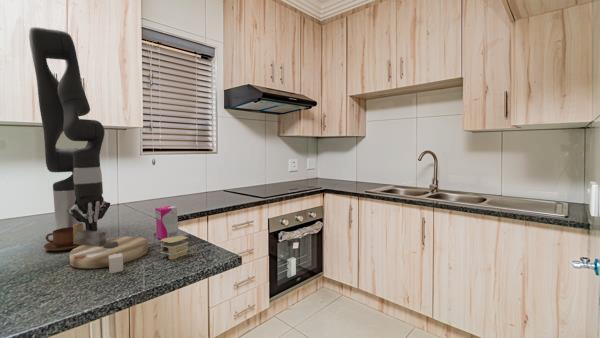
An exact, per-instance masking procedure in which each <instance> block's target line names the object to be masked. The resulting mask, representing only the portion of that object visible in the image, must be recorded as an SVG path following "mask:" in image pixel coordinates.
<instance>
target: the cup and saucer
mask: <svg viewBox="0 0 600 338" xmlns="http://www.w3.org/2000/svg"><path fill="white" fill-rule="evenodd" d="M50 236H52V238H53V239H51V240H50V239H49V237H50ZM45 240H46V242H48V243H46V244H45V245H44V246H43V248H44V249H46V251H51V252H61V251H63V252H64V251H68V250H73V249H75V248H77V247H79V246H81V245H80V244H74V242H73V227H67V228H61V229H57V230H56V229H54V230H53V231H52V232H51V233H47V234H46V236H45Z"/></svg>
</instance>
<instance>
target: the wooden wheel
mask: <svg viewBox="0 0 600 338" xmlns="http://www.w3.org/2000/svg"><path fill="white" fill-rule="evenodd" d="M106 233H107V232H106V231H99V230H97V231H89V230H83V224H82V223H80V224H74V225H73V242H74V244H80V245H81V246H79V247H77V248H74V249H71V251H70V252H69V255H68V256H69V265H70V266H71V267H73V268H76V269H99V268H102V269H103V268H106V267H107V268H109V258H108V256H109V255H113V254H114V253H116V254H119V253H122V256H123V264H125V263H129V262H131V261H134V260H137V259H139V258H141V257H143V256H144V255H146V254H147V253H148V251H149V241H148V239H147V238H144V237H142V236H118V237H110V238H107V236H106V235H107V234H106Z"/></svg>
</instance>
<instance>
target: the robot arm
mask: <svg viewBox="0 0 600 338" xmlns="http://www.w3.org/2000/svg"><path fill="white" fill-rule="evenodd" d="M28 42H29V46H30V47H29V48H30V53H31V58H32V62H33V67H34V71H35V77H36V85H37V96H38V106H39V112H40V118H41V122H42V123H41V124H42V128H43V136H44V137H43V140H44V154H45V165H46V168H47V170H48V171H49V172H51V173H71V174H70V176H68V177H67V178H64V179H62V180H60V181H59V180H58V181H56V182H53V184H52V196H53V206H54V209H53V210H54V222H55V230H57V229H61V228H67V227H73V225H74V224H80V223H82V224H83V230H89V231H98V221H99V220H101V219H103V218H104V216H105V215H106V213H107V211H108V209H109V207H110V206H111V202H110V201H109V202H107V201H106V200H105V199H104V197H103V193H104V190H103V189H104V188H103V173H102V168H101V157H100V155H101V150H102V146H103V142H104V138H105V128H104V125H103V124H102V123H101V122H100V121H98V120H95V119H85V118H79V117H82V116H84V117H85V116H86V115H88V114H90V112H91V107H90V103H89V101H88V97H87V94H86V92H85V89H84V86H83V82H82V76H81V71H80V65H79V60H78V55H77V51H76V46H75V44H74V40H73V38H72V36H71V34H70V33H68V32H67V31H64V30H59V29H54V28H52V29H51V28H45V27H37V26H32V27H30V28H29V30H28ZM48 59H49V60H50V59H51V60H62V61H63V60H64V61H65V64H66V65H65V66H66V67H65V70H64V73H63V74H62V76H61V78H60V80H58V79H57V77H55V75H54V73H52V71H51V69H50V66H49V64H48V61H47V60H48ZM62 133H63V134H64V135H65V137H66V138H67V139H68V140H70V141H73V142H87V143H86V144H85V147H83V148H77V147H56V145H57V143H58V140H59V139H60V137H61V136H62Z"/></svg>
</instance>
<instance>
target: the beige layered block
mask: <svg viewBox="0 0 600 338" xmlns="http://www.w3.org/2000/svg"><path fill="white" fill-rule="evenodd" d="M186 239H189V237H187V236H186V235H179V236H176V237H170V238H164V239H162V240H159V242H161V244H160V247H161V251H160V254H164V255H168V259H169V260H176V259H177V258H179V257H183V256H187V255H188V250H190V249H189V247H188V244H189V241H187V240H186ZM162 241H163V242H162Z"/></svg>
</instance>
